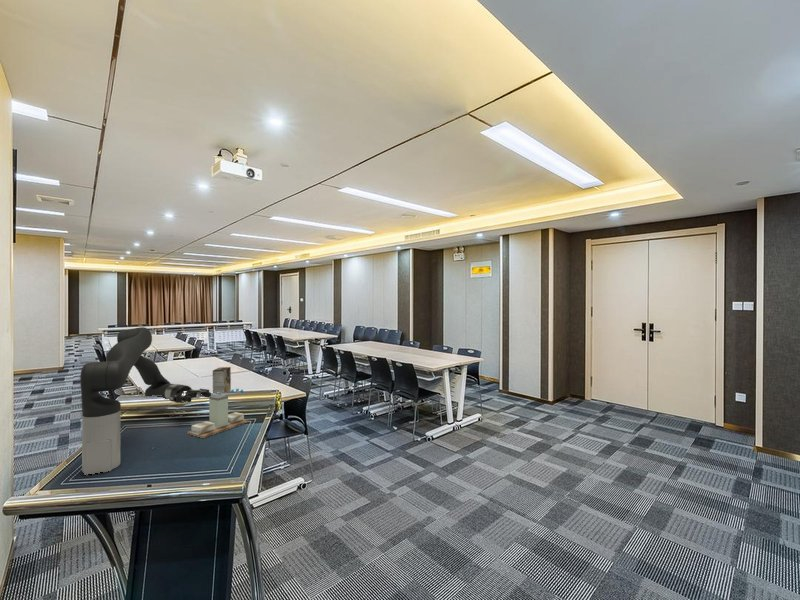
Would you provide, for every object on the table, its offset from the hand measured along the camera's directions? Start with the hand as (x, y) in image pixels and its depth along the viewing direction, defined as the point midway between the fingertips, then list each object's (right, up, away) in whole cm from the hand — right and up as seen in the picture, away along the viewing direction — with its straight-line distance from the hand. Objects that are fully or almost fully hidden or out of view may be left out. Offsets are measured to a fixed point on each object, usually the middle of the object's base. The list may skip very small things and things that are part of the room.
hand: (200, 397), depth 151 cm
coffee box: (-12, -12, +42) cm, 46 cm away
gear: (+3, -12, +29) cm, 32 cm away
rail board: (+11, -11, -5) cm, 17 cm away
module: (+11, -10, -5) cm, 16 cm away
